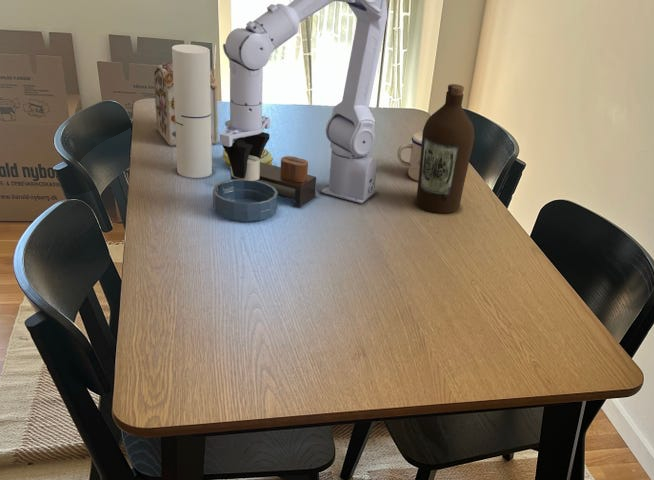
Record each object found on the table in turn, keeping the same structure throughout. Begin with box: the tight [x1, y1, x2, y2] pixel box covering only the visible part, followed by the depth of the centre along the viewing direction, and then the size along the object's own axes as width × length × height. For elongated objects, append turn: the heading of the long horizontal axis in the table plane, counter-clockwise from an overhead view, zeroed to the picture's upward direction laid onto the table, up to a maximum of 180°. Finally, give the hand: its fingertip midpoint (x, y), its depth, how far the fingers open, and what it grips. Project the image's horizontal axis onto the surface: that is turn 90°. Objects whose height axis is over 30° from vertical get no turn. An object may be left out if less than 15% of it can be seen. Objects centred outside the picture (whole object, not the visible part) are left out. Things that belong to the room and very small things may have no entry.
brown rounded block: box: [280, 155, 309, 182], centre depth 152 cm, size 6×4×4 cm
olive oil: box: [415, 83, 475, 214], centre depth 155 cm, size 11×11×25 cm
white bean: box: [230, 155, 260, 181], centre depth 143 cm, size 6×4×4 cm
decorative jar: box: [153, 61, 219, 147], centre depth 173 cm, size 12×12×18 cm
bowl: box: [212, 179, 279, 222], centre depth 147 cm, size 12×12×4 cm
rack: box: [230, 162, 317, 209], centre depth 155 cm, size 16×7×4 cm, turn 69°
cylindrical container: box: [171, 43, 213, 179], centre depth 154 cm, size 7×7×25 cm
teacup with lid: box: [396, 131, 423, 182], centre depth 172 cm, size 12×9×12 cm
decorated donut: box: [222, 148, 274, 169], centre depth 166 cm, size 10×11×4 cm
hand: (245, 173), depth 144 cm, fingers closed on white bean, 4 cm apart
